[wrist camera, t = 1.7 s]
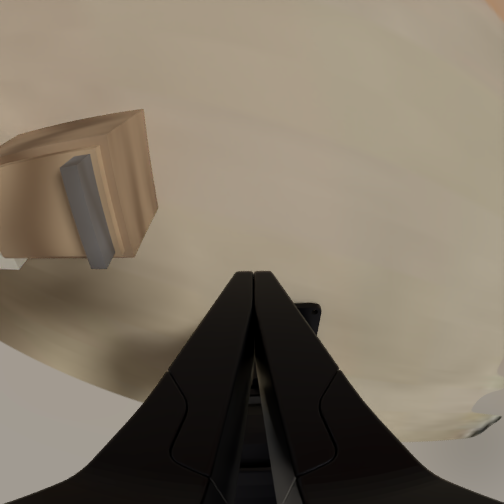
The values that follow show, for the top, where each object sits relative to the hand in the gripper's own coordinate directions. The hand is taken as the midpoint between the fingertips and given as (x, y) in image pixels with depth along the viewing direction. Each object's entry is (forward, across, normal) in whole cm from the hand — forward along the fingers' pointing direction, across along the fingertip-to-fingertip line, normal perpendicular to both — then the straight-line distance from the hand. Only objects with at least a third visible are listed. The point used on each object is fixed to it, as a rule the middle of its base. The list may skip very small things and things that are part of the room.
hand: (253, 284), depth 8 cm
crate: (+11, +10, 0) cm, 15 cm away
